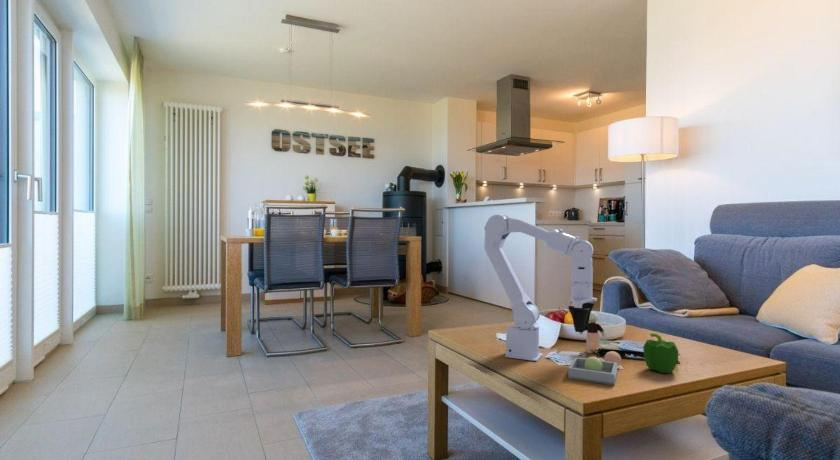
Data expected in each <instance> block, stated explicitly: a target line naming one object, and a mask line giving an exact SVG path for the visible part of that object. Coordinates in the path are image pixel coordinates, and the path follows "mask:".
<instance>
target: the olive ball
mask: <svg viewBox="0 0 840 460" xmlns="http://www.w3.org/2000/svg"><path fill="white" fill-rule="evenodd" d="M586 359H587V360H586V361H585V368H586V370H593V371H600V372H601V370H602V367H603V366H602V362H601V361H602V360H601V359H599V358H598V357H596V356H590V357H588V358H586Z"/></svg>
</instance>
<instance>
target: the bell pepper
mask: <svg viewBox="0 0 840 460" xmlns="http://www.w3.org/2000/svg"><path fill="white" fill-rule="evenodd" d="M649 335H650V338H653V337H655V338H656V339H657V340H655V339H647V340H646V342H645V343H644V345H643V357H644V362H645V363H646V364H645V365H646V367H647V368H648V370H651V371H655V372H659V373H661V374H670V373H673V371H674V370H675V368H676V366H677V362H678V358H679V349H678V347H677V345H676V343H675V342H674V341H666V340H664V339H662V336H661V335H659V334H658V333H654V332H653V333H650V334H649Z"/></svg>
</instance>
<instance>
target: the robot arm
mask: <svg viewBox="0 0 840 460" xmlns="http://www.w3.org/2000/svg"><path fill="white" fill-rule="evenodd" d="M483 229H484V244H483V245H484V251H485V253H486V255H487V257H488V258H489V260H490V261H489V262H490V263H491V265H492V267H493V268H494V271H495V273H496V276H498V279H499V280H500V284H501V285H502V287H503V289H504V291H505V293H506V295H507V297H508V299H509V302H510V309H511V311H512V314H513V317H512V319H513V321H514V325H508V327H507V329H506V336H505V340H506V341H505V352H506V353H505V356H504V357H505V358H510V359H517V360H518V359H519V360H527V361H533V362H537V361H538V360H539V359H540V358H541V357H542V356H543V353H542V352H540V325H539V324H538V322H537V321H538V320H539V319H540V317H541V312H540V309H539V307H538V306H537V305H536V304H535V303H534V302H532V300H531V297H529V296H528V294H527V293H526V292H525V290H524V288H523V286H522V284H521V282H520V280H519V278H518V276H517V274H516V272H515V271H514V268H513V266H512V265H511V262H510V260H509V258H508V257H507V256H508V255H506V252H505V251H504V248H503V246H504V243H505V242H506V239H507V237H508V236H509V235H510V234H511V233H522V234H524V235H527V236H530V237H533V238H536V239H538V240H540V241H544V242H545V244H546V246H547V248H549V249H551V250H554V251H556V252H559V253H561V254H563V255H566V256H570V255H571V257H572V265H571V296H570V300H571V302H573V305H568V311H569V313H570V315H571V319H572V321H573V327H574V331H575V332H576V333H579V332H582V333H584V332H585V331H584V328H585V327H587V326H588V323H590V322H589V318H590V313H591V312H592V310H593V308H594V306H595V302H597V300H598V298H596V297H593V294H594V293H593V288H594V287H593V286H594V285H593V284H594V283H593V282H594V281H593V280H594V279H593V278H594V277H593V276H594V267H593V264H594V262H593V258H592V256H593V254H594V246H593V245H592V243H591V242H589V241H587V240H586V239H580V236H578V235H576V236H573V235H571V234H568V233H565V232H564V230H563V229H561V228H559V229H556V228H555V229H552V230H551V231H549V230H546V229H545V228H542V227H539V226H538V225H537V226H536V225H535V224H532V223H530V222H528V221H526V220H523V219H519V218H517V217H511V216H507V215H501V214H494V215H491V216H490V217H489V218H488V219H487V220H486V223H485V225H484V228H483ZM583 331H584V332H583Z"/></svg>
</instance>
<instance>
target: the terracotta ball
mask: <svg viewBox="0 0 840 460" xmlns="http://www.w3.org/2000/svg"><path fill="white" fill-rule="evenodd" d="M603 361H608V362H616V363H617V368H618V367H620V366H621V363H622V357H621V355H620V354H619V353H618V352H617V351H614V350H613V351H612V350H611V351H608V352H606V354H604V358H603Z"/></svg>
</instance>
